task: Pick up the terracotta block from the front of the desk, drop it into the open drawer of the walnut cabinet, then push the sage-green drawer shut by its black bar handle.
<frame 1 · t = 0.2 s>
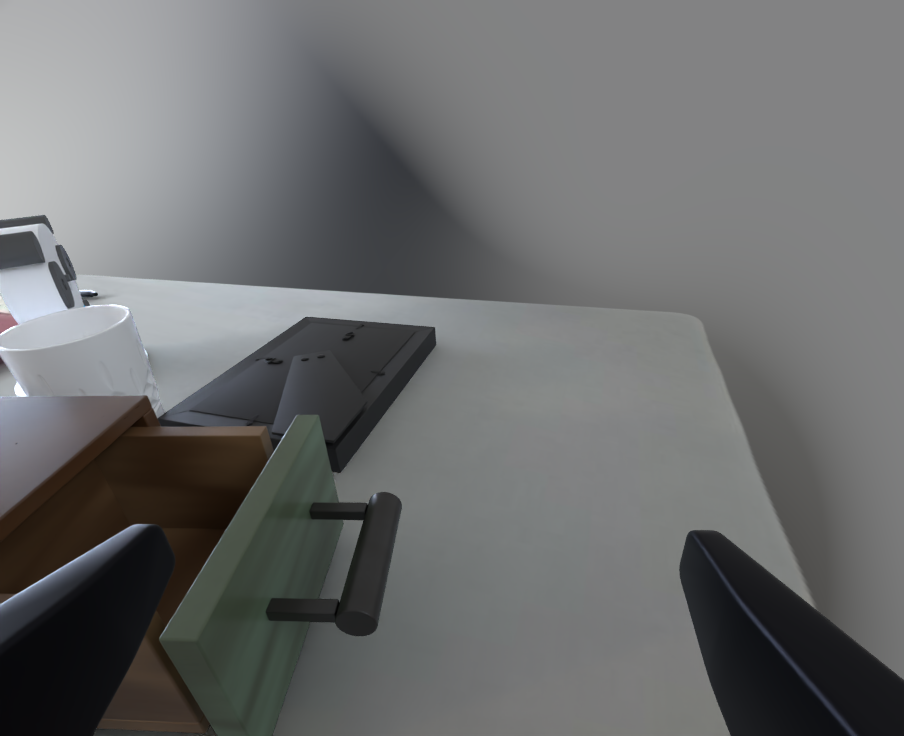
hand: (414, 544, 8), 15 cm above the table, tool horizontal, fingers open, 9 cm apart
drawer: (206, 560, 20), point 5 cm above the table, slide at 8.0 cm
white cup: (123, 440, 37), on the table
pen: (62, 297, 70), on the table
panda figurine: (86, 374, 48), on the table
picture frame: (321, 387, 43), on the table
cabinet: (13, 619, 24), on the table
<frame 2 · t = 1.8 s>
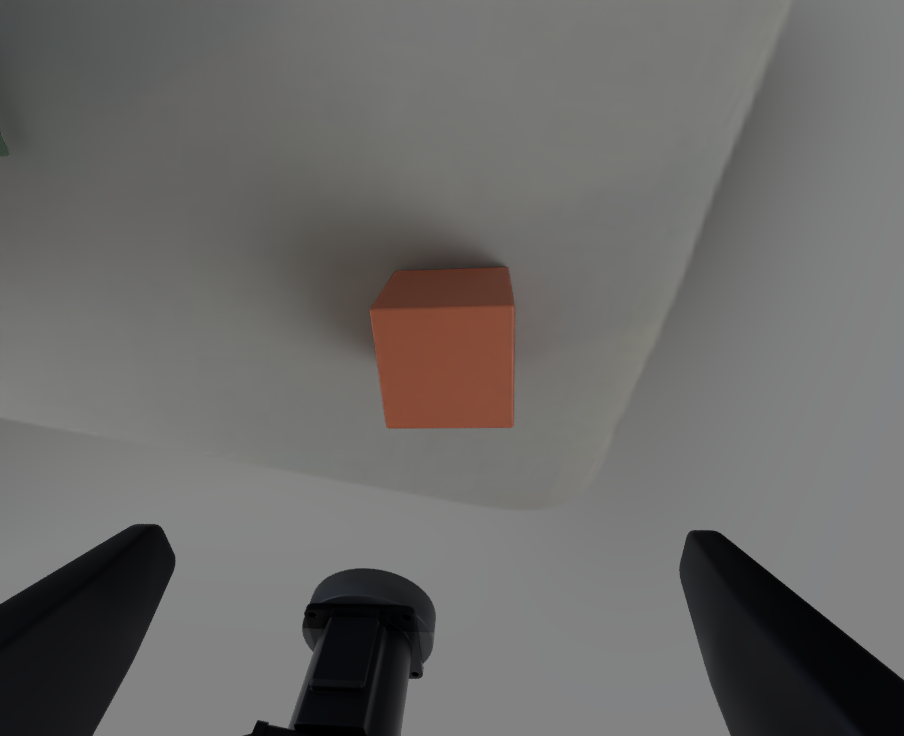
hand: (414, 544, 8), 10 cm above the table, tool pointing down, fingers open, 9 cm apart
block: (453, 321, 17), on the table
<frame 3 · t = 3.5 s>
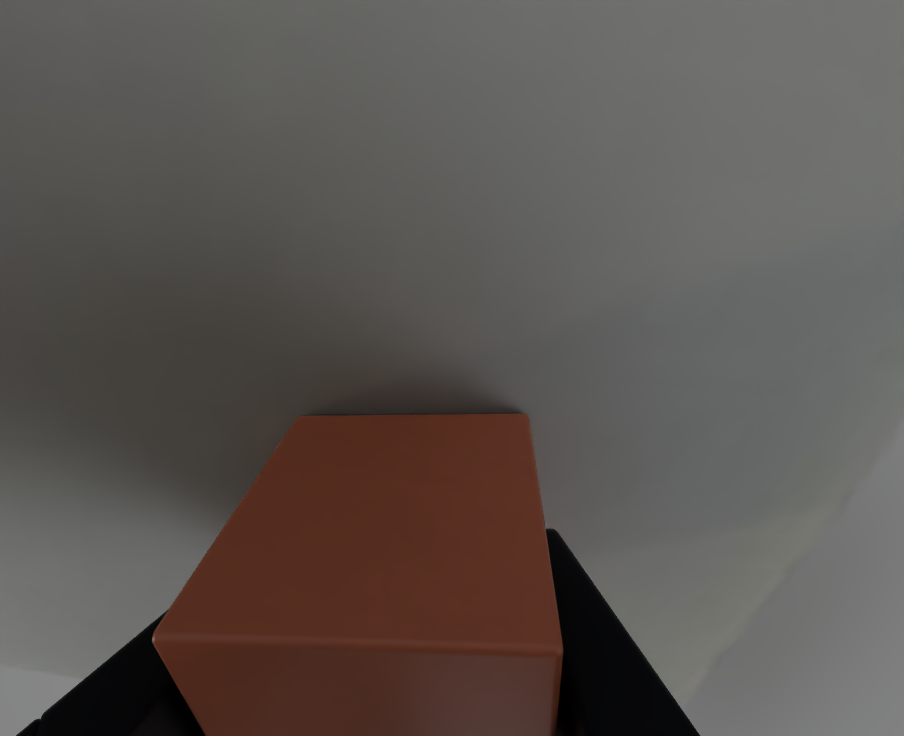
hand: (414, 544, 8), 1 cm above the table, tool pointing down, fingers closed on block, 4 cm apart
block: (420, 501, 9), on the table, touching gripper
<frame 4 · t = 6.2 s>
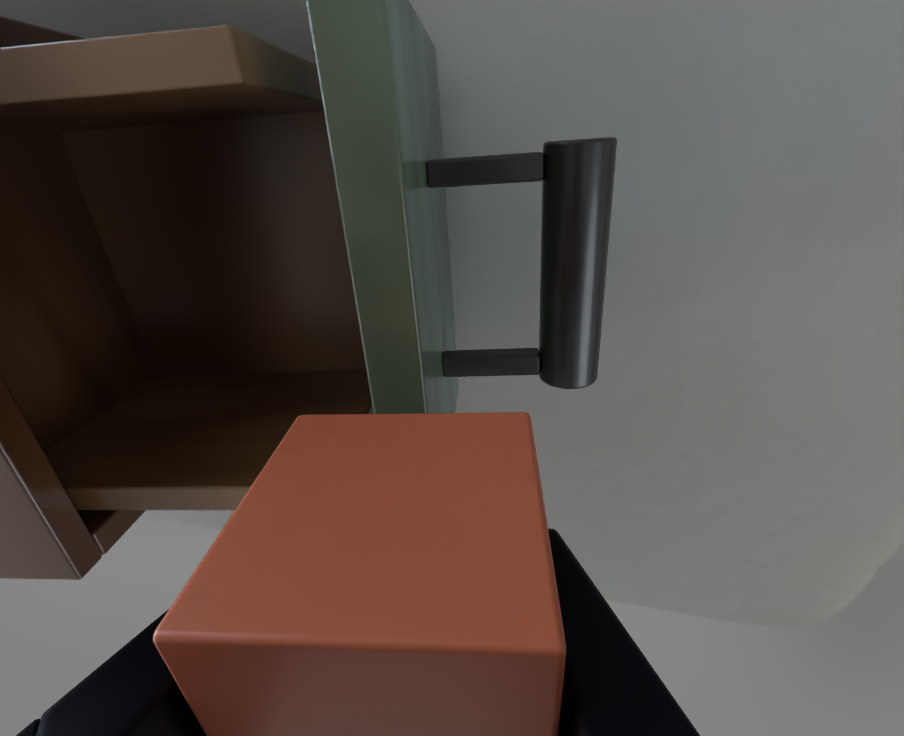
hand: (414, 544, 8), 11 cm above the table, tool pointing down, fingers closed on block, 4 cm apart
drawer: (291, 279, 13), point 5 cm above the table, slide at 8.0 cm
cabinet: (49, 260, 18), on the table
block: (421, 500, 9), point 10 cm above the table, touching gripper
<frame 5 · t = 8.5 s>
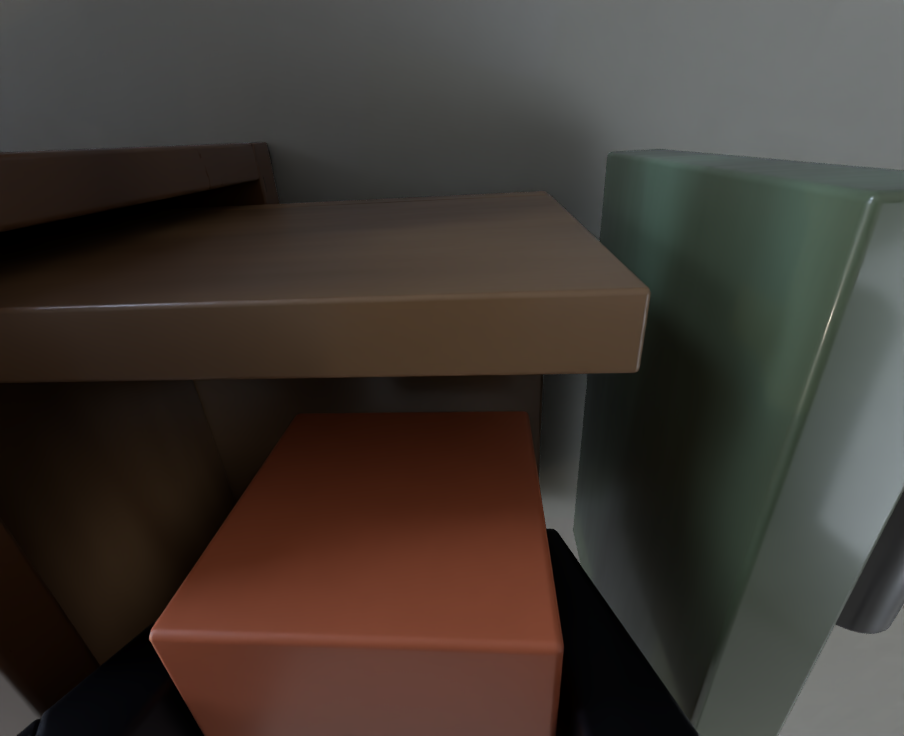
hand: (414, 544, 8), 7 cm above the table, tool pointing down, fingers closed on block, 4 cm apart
drawer: (479, 472, 9), point 5 cm above the table, slide at 8.0 cm
cabinet: (109, 373, 15), on the table
block: (420, 499, 9), point 6 cm above the table, touching gripper
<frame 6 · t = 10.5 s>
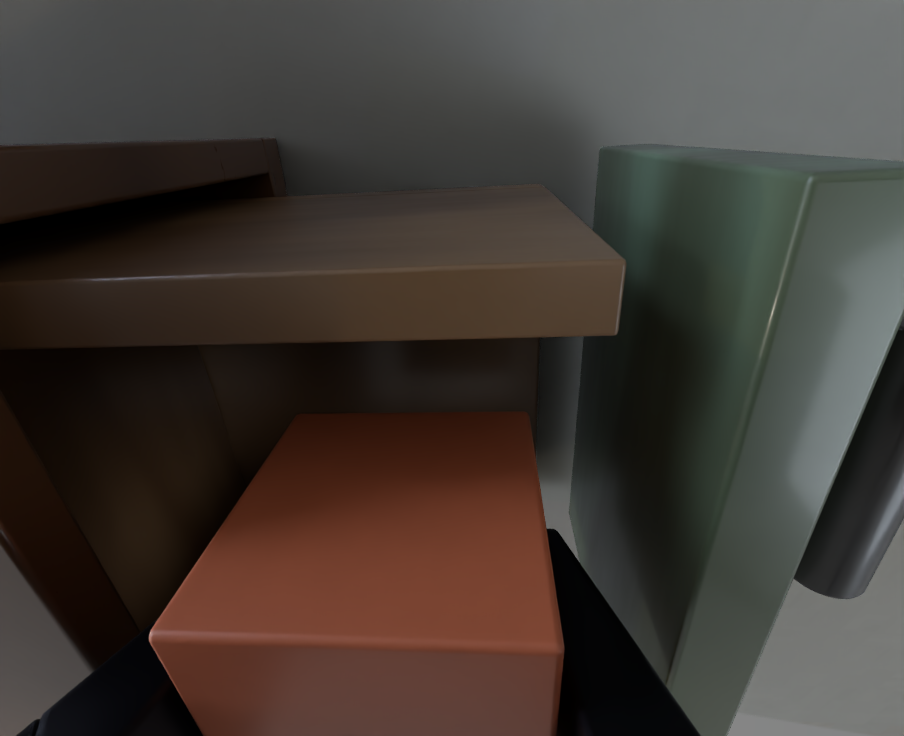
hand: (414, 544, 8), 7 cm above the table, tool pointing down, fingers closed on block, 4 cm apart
drawer: (478, 448, 10), point 5 cm above the table, slide at 8.0 cm
cabinet: (122, 361, 15), on the table
block: (420, 499, 9), point 6 cm above the table, touching gripper
when the fingers open (10 cm above the table, at t = 22.8 s): block drops 7 cm, resting on drawer.
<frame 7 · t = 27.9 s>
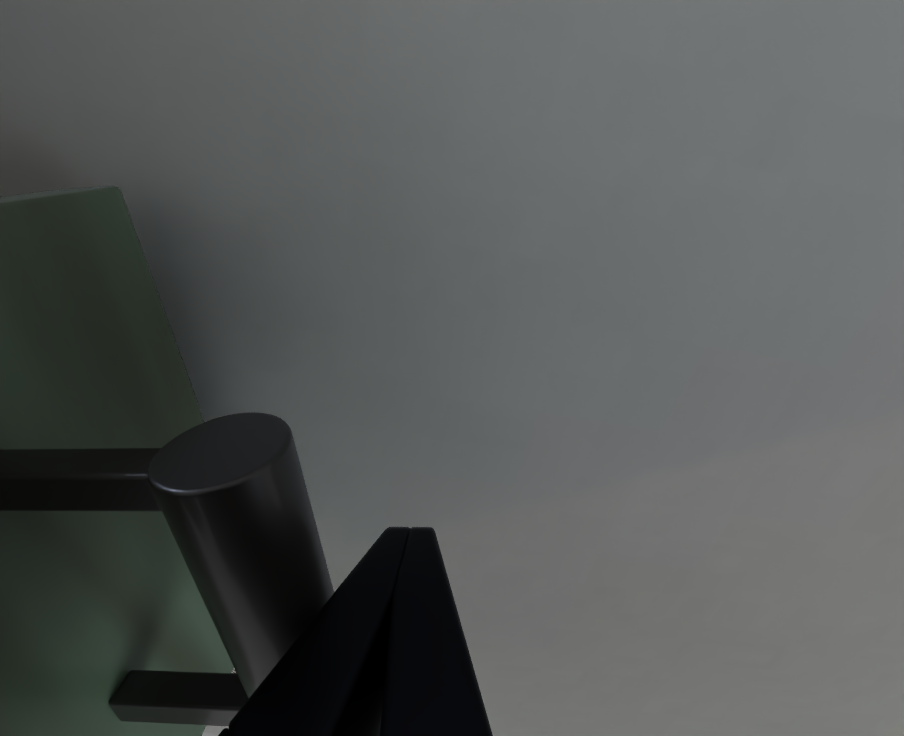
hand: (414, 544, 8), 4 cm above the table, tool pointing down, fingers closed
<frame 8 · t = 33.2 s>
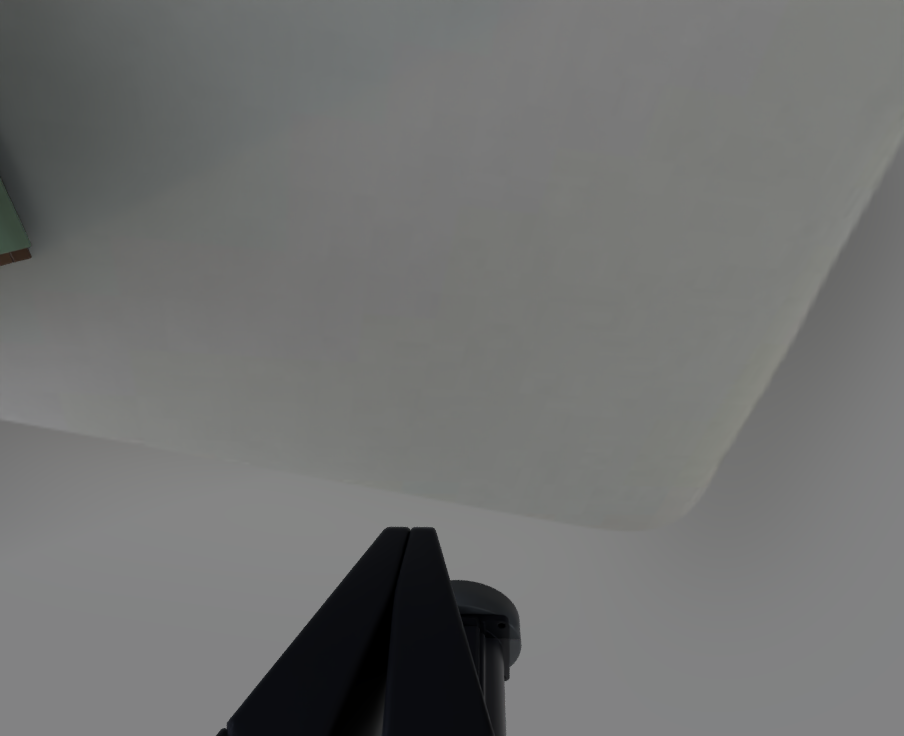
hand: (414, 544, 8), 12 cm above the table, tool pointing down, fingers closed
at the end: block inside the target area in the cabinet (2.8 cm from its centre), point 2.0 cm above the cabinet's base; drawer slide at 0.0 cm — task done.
